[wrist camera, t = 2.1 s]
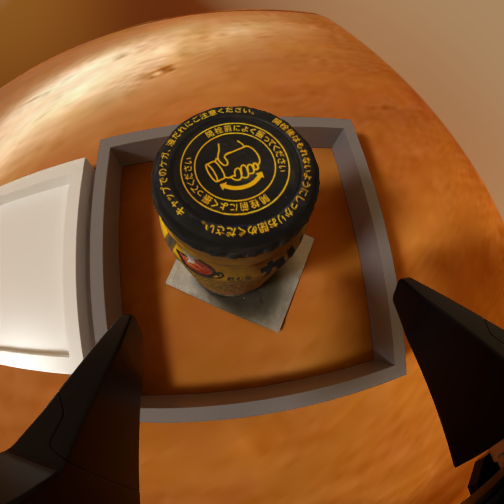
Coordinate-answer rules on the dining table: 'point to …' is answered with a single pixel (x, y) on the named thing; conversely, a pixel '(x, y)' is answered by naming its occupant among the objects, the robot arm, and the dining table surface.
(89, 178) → the tray
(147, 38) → the dining table surface
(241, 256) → the condiment
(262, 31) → the dining table surface
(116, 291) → the gray square frame
